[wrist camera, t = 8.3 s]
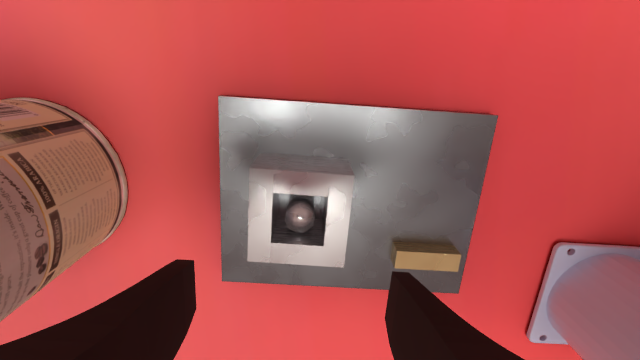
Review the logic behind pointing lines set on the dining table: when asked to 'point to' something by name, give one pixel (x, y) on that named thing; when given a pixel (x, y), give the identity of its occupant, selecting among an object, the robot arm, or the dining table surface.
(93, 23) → the dining table surface
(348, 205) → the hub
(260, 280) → the shaft block
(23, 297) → the coffee can
